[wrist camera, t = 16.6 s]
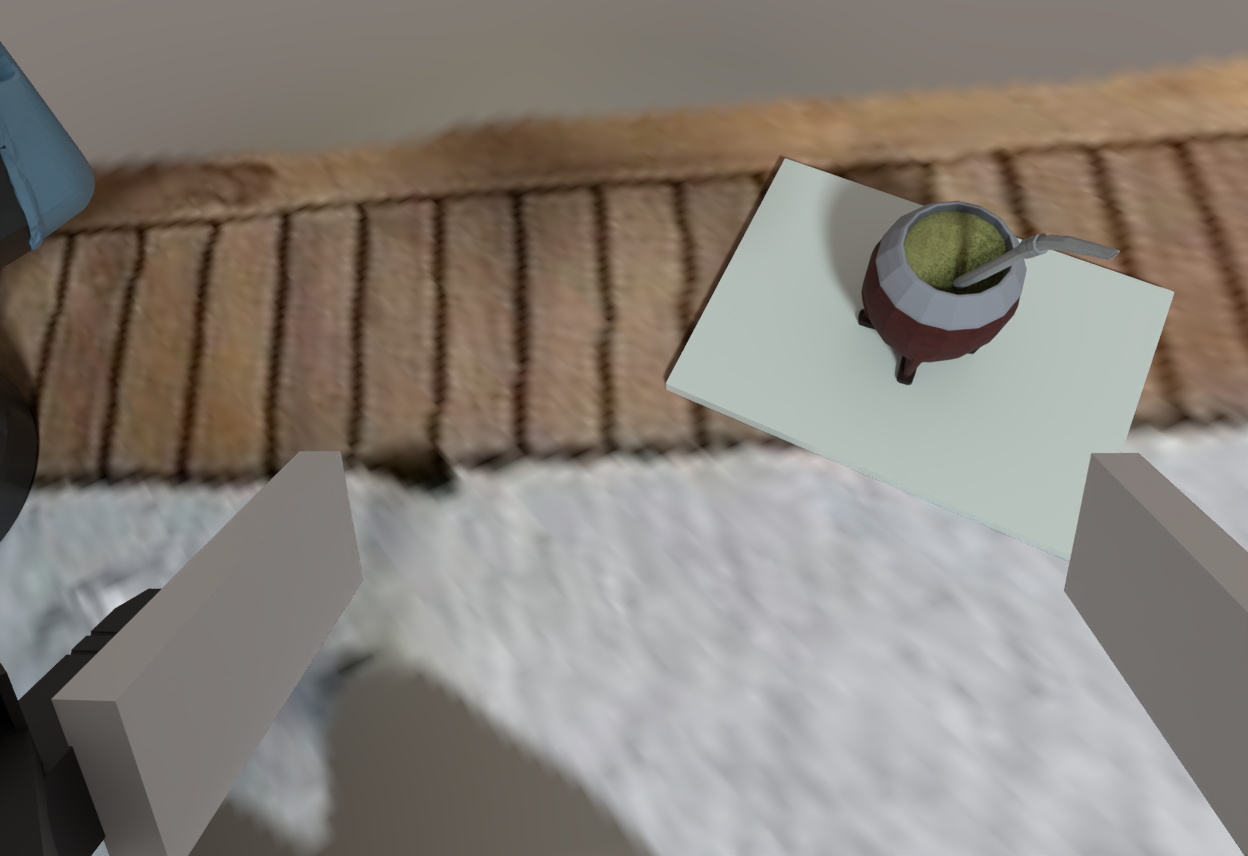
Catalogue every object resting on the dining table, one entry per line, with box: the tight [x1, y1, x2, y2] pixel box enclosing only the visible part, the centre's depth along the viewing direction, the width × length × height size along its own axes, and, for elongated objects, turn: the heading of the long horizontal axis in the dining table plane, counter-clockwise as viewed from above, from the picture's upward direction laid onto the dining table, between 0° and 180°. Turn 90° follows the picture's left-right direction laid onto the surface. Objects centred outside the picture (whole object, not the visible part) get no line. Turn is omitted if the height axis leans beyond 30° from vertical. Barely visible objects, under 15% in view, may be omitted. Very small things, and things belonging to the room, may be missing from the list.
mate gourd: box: [858, 201, 1119, 385], centre depth 39 cm, size 8×8×15 cm
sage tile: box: [666, 158, 1174, 562], centre depth 46 cm, size 22×16×1 cm
